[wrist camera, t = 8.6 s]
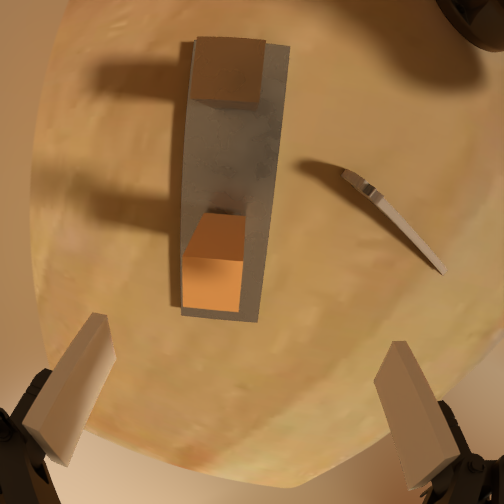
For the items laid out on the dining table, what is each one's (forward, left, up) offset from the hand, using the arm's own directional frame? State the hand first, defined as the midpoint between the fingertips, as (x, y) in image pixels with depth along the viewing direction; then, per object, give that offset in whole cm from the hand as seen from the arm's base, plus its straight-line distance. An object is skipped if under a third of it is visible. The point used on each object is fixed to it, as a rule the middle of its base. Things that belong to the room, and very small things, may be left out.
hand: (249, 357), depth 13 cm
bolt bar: (+2, -3, -21) cm, 21 cm away
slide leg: (+2, +1, -19) cm, 19 cm away
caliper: (-18, -1, -21) cm, 28 cm away
